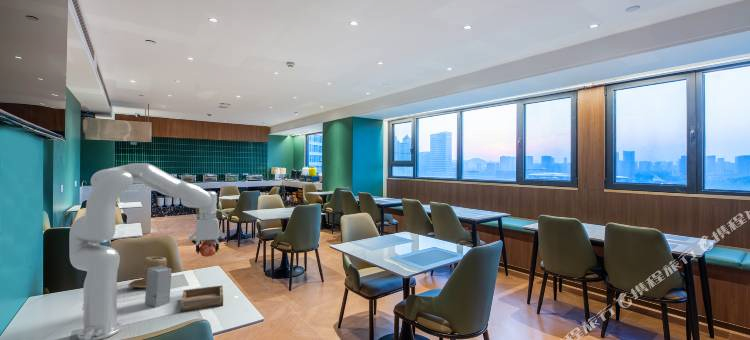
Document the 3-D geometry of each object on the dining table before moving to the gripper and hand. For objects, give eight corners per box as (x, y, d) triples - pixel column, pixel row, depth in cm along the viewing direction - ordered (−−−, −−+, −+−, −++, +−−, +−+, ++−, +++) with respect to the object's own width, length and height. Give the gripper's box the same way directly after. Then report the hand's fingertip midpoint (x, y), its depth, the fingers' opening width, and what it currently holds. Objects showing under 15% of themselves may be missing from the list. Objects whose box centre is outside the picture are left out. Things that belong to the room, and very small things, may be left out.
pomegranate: (197, 261, 167) (200, 251, 161) (198, 247, 171) (201, 237, 165) (213, 260, 171) (217, 251, 165) (214, 247, 175) (217, 237, 169)
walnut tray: (223, 305, 151) (223, 296, 151) (180, 312, 144) (180, 302, 144) (222, 293, 165) (222, 285, 165) (183, 298, 158) (183, 290, 158)
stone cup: (172, 283, 181) (172, 254, 181) (156, 290, 169) (156, 260, 169) (145, 282, 182) (145, 253, 182) (127, 289, 170) (127, 259, 170)
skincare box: (144, 304, 152) (144, 268, 152) (160, 298, 158) (161, 264, 158) (155, 307, 148) (155, 271, 148) (172, 302, 154) (172, 267, 154)
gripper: (187, 218, 161) (186, 255, 161) (227, 216, 168) (227, 252, 168) (188, 216, 168) (187, 252, 168) (226, 214, 175) (226, 249, 175)
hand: (207, 252), depth 168 cm, fingers closed on pomegranate, 7 cm apart
